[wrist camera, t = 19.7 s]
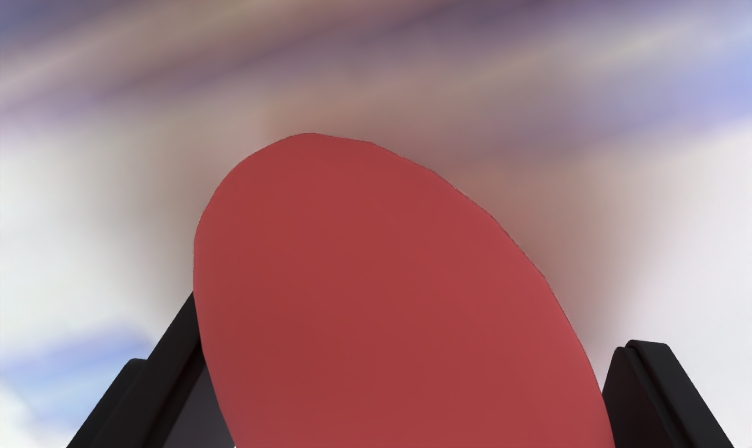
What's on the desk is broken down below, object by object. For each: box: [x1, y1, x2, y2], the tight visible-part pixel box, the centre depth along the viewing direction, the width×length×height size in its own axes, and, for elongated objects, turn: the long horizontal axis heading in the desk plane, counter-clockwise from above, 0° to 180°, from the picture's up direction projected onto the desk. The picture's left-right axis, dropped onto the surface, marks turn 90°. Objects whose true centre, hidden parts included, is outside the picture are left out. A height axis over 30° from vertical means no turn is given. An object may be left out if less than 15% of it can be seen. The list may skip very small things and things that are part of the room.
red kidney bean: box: [193, 133, 615, 448], centre depth 10 cm, size 5×9×6 cm, turn 8°
